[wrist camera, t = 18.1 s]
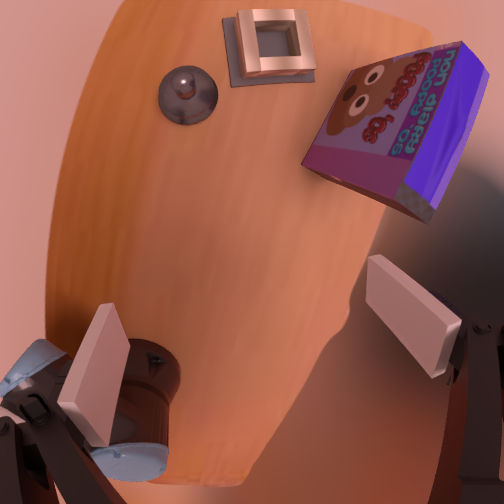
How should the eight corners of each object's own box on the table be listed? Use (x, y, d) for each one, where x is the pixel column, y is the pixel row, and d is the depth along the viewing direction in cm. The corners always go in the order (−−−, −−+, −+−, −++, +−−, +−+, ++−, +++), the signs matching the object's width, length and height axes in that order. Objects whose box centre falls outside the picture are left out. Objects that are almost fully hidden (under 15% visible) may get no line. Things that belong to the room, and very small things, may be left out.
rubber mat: (231, 87, 38) (231, 86, 37) (222, 19, 34) (222, 18, 33) (313, 82, 39) (315, 81, 38) (303, 17, 35) (304, 16, 34)
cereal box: (351, 70, 39) (463, 40, 17) (374, 87, 40) (491, 74, 18) (300, 164, 44) (394, 199, 21) (326, 179, 45) (429, 225, 23)
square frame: (241, 78, 37) (246, 71, 32) (233, 23, 34) (238, 10, 29) (304, 75, 38) (316, 68, 33) (295, 21, 34) (306, 9, 30)
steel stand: (163, 129, 39) (147, 127, 27) (156, 76, 36) (138, 53, 24) (221, 119, 39) (228, 112, 27) (213, 66, 36) (218, 39, 24)
